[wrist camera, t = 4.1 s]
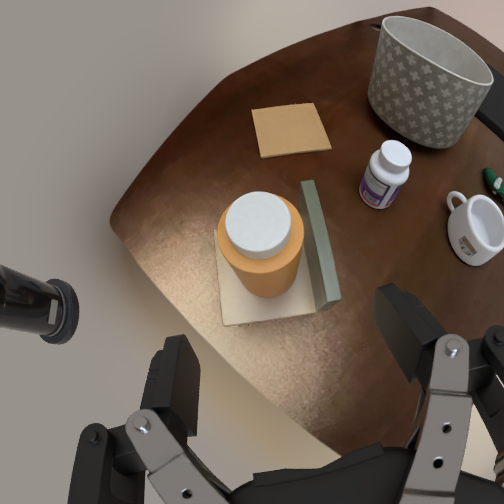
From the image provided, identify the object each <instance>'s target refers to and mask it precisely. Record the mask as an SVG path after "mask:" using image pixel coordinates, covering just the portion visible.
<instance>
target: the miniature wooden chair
mask: <svg viewBox="0 0 504 504" xmlns="http://www.w3.org/2000/svg"><path fill="white" fill-rule="evenodd" d="M298 212H299V214H300V216H301V218H302V221H303V225H304V240H303V246H302V251H301V256H300V261H299V266H298V271H297V276H296V279H295V281H294V283H293V284H292V286H291V287H290V288H289V289H288V290H287V291H285V292H284V293H282V294H280V295H278V296H275V297H260V296H257V295H255V294H253V293H251V292H249V291H248V290H247V289H246V288H245V287H244V285H243V284H242V283H241V281H240V280H239V278H238V277H237V275H236V274H235V272H234V271H233V269H232V268H231V266H230V265H229V263H228V262H227V260H226V259H225V257H224V256H223V254H222V253H221V251H220V249H219V246H218V241H217V230H214V242H215V253H216V263H217V274H218V284H219V293H220V302H221V311H222V320H223V326H226V327H228V326H240V327H241V326H249V324H252V323H259V322H266V321H273V320H279V319H285V318H292V317H298V316H303V315H304V317H307V316H313V315H314V314H316V313H320V312H325V311H326V310H328V309H329V308H331V307H332V306H333V305H335V304H336V303H338V302H339V301H340V300H342V297H341V292H340V287H339V282H338V277H337V272H336V268H335V263H334V258H333V254H332V250H331V245H330V241H329V237H328V233H327V229H326V224H325V220H324V217H323V213H322V209H321V205H320V201H319V198H318V194H317V190H316V187H315V183H314V180H308V181H301V185H300V197H299V207H298Z"/></svg>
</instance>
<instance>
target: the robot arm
mask: <svg viewBox="0 0 504 504" xmlns="http://www.w3.org/2000/svg"><path fill="white" fill-rule="evenodd" d="M67 314H68V305H67V299H66V296H65V294H64V292H63V291H62V289H61V288H59V287H58V286H55V285H53V284H48V283H46V282H43V281H40V280H37V279H35V278H32V277H30V276H27V275H25V274H22V273H20V272H17V271H15V270H12V269H10V268H7V267H5V266H3V265H0V327H1V328H6V329H11V330H17V331H22V332H28V333H34V334H40V335H45V336H50V337H53V336H56V335H58V334H59V333H60V332H61V331H62V330H63V328H64V326H65V323H66V320H67ZM374 321H375V325H376V327H377V329H378V331H379V333H380V334H381V336H382V338H383V339H384V341H385V342H386V344H387V346H388V347H389V349H390V351H391V352H392V354H393V356H394V357H395V359H396V361H397V362H398V364H399V366H400V368H401V369H402V371H403V373H404V374H405V376H406V378H407V380H408V381H409V383H410V384H412V383H414V382H416V381H418V380H419V382H420V383H421V388H420V392H419V396H418V401H417V405H416V409H415V413H414V416H413V420H412V424H411V427H410V430H409V432H408V435H407V437H406V440H405V442H404V445H403V447H383V448H382V445H381V442H377V443H375V444H372V445H369V446H367V447H364V448H361V449H358V450H355V451H352V452H350V453H348V454H346V455H344V456H343V457H341V458H339V459H337V460H335V461H334V462H332V463H330V464H328V465H326V466H324V467H322V468H317V469H280V470H274V471H268V472H261V473H254V474H253V477H254V480H252V481H249V482H247V483H245V484H243V485H241V486H240V487H238V488H236V489H235V490H234V491H231V490H230V489H229V488H228V487H227V486H226V485H224V484H223V483H222V482H221V481H220V480H219V479H218V478H217V477H216V476H215V475H213V473H212V472H211V471H210V470H209V469H208V468H207V467H206V466H205V465H204V464H203V463H202V461H201V460H200V459H199V458H198V457H197V456H196V454H195V453H194V452H193V451H192V450H191V449H190V447H189V446H188V445H187V437H188V436H189V437H190V436H197V420H198V401H199V386H200V364H199V361H198V358H197V356H196V354H195V352H194V351H193V349H192V347H191V345H190V343H189V341H188V339H187V337H186V336H185V335H184V334H183V335H177V336H171V337H167V338H166V340H165V344H164V348H163V350H159V351H157V353H156V354H155V356H154V357H153V359H152V360H151V364H150V368H149V372H148V376H147V380H146V384H145V388H144V393H143V397H142V402H141V406H140V410H138V411H136V412H134V413H133V414H132V415H131V416H130V417H129V418H128V420H127V422H126V424H125V425H122V426H118V427H115V428H111V429H107V428H105V427H104V426H103V425H102V424H99V423H93V424H90V425H88V426H87V427H86V428H85V429H84V430H83V431H82V433H81V435H80V439H79V443H78V447H77V452H76V457H75V461H74V466H73V472H72V478H71V483H70V490H69V496H68V504H144V490H145V470H148V471H149V474H148V475H147V476H148V479H149V481H150V483H151V484H152V486H153V487H154V489H155V490H156V491H157V493H158V494H159V496H160V497H161V499H162V500H163V501H164V503H165V504H504V388H503V386H502V384H501V383H500V381H499V380H498V378H497V377H496V375H498V377H499V378H500V380H501V381H502V383H503V384H504V327H502V326H492V327H490V328H489V329H488V330H487V331H486V333H485V336H484V338H480V339H475V340H470V341H466V340H465V339H464V338H463V337H461V336H459V335H456V334H448V333H447V332H446V331H445V329H444V328H443V327H442V326H441V325H440V323H439V322H438V321H437V320H436V319H435V318H434V316H433V315H432V314H431V313H430V312H428V309H427V308H426V307H425V306H424V305H423V304H422V303H421V301H420V300H419V299H418V298H417V297H416V296H415V295H413V294H411V293H409V292H407V291H404V292H401V291H400V290H399V289H398V288H397V286H396V285H395V284H393V283H390V284H387V285H384V286H381V287H378V288H376V289H375V303H374ZM472 401H473V403H474V404H475V406H476V408H477V410H478V412H479V414H480V416H481V418H482V419H483V422H484V424H485V426H486V428H487V430H488V432H489V434H490V436H491V438H492V440H493V443H494V445H495V447H496V450H497V451H498V455H497V457H496V461H495V466H494V473H495V474H496V480H495V482H494V481H491V480H488V479H484V478H482V477H479V476H476V475H473V474H470V473H467V472H465V471H462V470H460V469H461V465H462V461H463V457H464V452H465V447H466V442H467V436H468V430H469V423H470V416H471V408H472Z"/></svg>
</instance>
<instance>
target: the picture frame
mask: <svg viewBox="0 0 504 504" xmlns="http://www.w3.org/2000/svg"><path fill="white" fill-rule="evenodd" d="M484 62H485V61H484ZM485 64H486V65H487V66H488V68H489V69H490V71H491V73H492V75H493V79H494V81H493V84H492V86H491V88H490V89H489V91H488V93H487V95H486V96H485V98H484V100H483V102H482V103H481V105H480V107H479V108H478V110H477V112H476V113H475V115H474V116H475V117H477V118H478V119H479V120H480V121H481V122H483V123H484V124H485V125H486V126H487V127H488V128H490V129H491V130H492V131H493V132H494V133H495V134H496V135H497V136H498V137H499V138H501V139H502V140H503V141H504V76H502V75H501V74H500V73H499V72H498V71H496V70H495V69H494V68H492V67H491V66H490V65H489V64H487V63H486V62H485Z"/></svg>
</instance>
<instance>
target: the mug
mask: <svg viewBox="0 0 504 504" xmlns="http://www.w3.org/2000/svg"><path fill="white" fill-rule="evenodd" d="M452 197H458V198H459V199H460V200H461V201H462V202H463V204H461V205H460V206H458V207H457V208H456V209H455V208H454V206H453V205H452V202H451V199H452ZM447 204H448V207H449V209H450V211H451V212H452V213H451V215H450V217H449V220H448V236H449V240H450V243H451V245H452V248H453V249H454V251H455V253H456V254H457V255H458V256H459V258H460V259H461V260H463V261H464V262H466V263H467V264H469V265H472V266H479V265H482V264H484V263H485V262H487V261H488V260H490V259H491V258H492V257H493V256H494V255H496V254H497V253H498V252H499V251H501V250H502V249H503V247H504V217H503V214H502V212H501V211H500V209H499V208H498V206H497V205H496V204H495V203H494V202H493V201H492V200H491V199H490V198H488V197H486V196H484V195H475V196H473V197H471V198H470V199H468V200H467V199H466V198H465V197H464V196H463V195H462V194H461V193H459V192H457V191H453V192H450V193H449V194H448V196H447Z"/></svg>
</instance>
